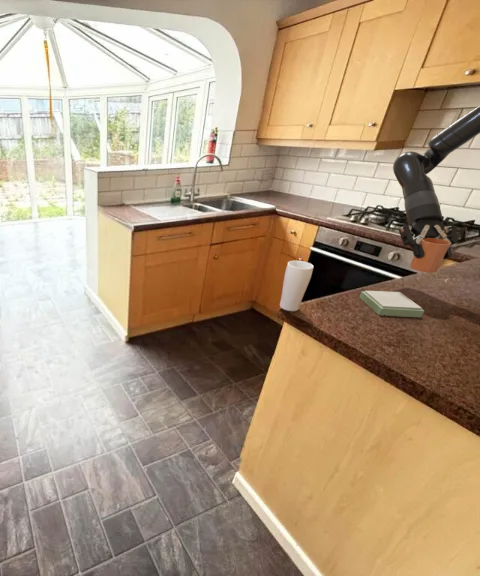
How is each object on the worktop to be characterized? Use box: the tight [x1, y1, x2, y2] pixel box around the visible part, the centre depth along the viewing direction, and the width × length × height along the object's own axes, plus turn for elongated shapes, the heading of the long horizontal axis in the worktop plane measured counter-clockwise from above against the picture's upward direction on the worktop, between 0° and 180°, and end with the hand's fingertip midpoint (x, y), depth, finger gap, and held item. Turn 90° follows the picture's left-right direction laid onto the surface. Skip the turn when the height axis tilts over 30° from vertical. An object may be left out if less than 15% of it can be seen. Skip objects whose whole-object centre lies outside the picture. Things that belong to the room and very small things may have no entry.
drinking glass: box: [279, 260, 314, 312], centre depth 98 cm, size 7×7×15 cm
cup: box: [409, 237, 451, 274], centre depth 98 cm, size 6×6×9 cm
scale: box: [358, 290, 425, 318], centre depth 100 cm, size 11×11×3 cm
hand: (433, 257), depth 96 cm, fingers closed on cup, 6 cm apart
